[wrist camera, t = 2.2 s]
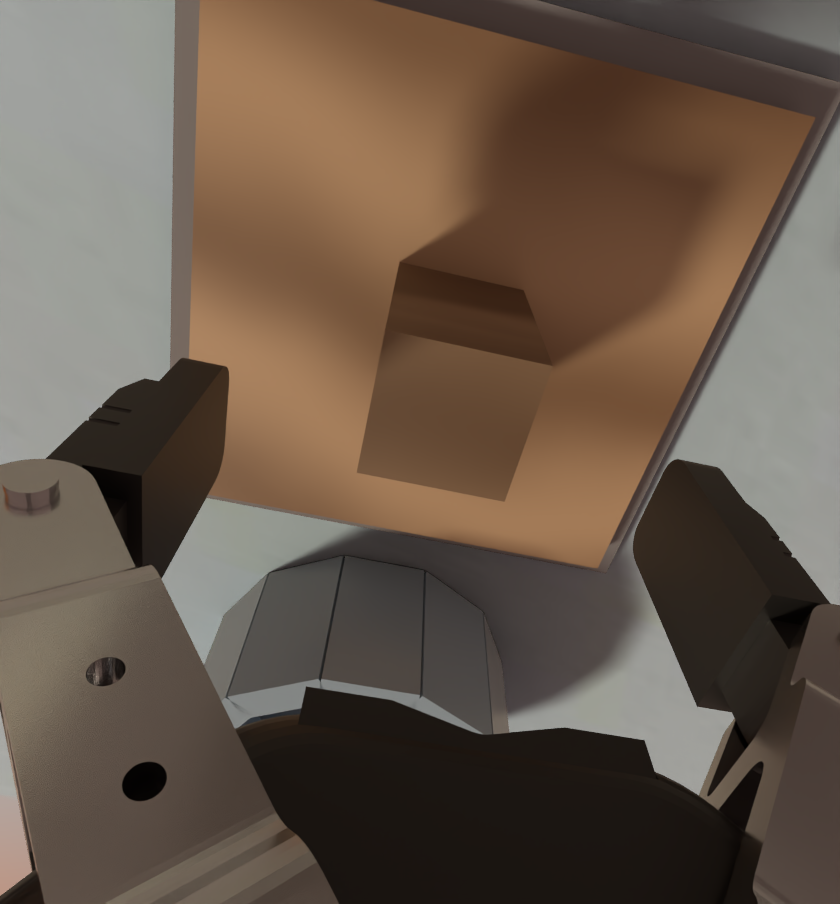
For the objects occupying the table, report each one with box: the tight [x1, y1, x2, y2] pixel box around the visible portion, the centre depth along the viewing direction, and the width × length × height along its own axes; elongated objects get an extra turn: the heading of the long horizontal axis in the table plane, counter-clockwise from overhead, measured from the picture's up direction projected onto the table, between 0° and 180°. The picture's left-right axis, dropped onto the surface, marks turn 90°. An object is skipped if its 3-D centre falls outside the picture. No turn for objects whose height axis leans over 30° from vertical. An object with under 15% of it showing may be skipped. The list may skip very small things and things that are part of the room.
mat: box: [170, 0, 840, 573], centre depth 16 cm, size 14×14×1 cm
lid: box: [189, 0, 816, 569], centre depth 14 cm, size 12×12×5 cm
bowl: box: [204, 556, 509, 734], centre depth 22 cm, size 10×10×5 cm
